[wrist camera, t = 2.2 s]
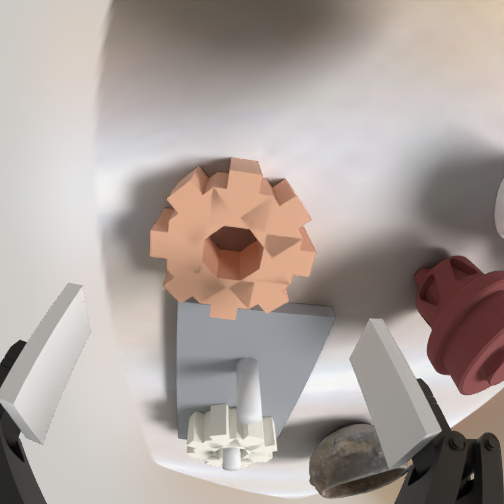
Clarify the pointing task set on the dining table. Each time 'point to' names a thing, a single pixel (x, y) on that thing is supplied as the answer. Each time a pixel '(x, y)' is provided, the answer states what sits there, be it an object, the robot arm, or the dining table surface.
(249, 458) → the gear
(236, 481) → the dining table surface
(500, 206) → the white joined open cylinders
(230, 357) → the gear board
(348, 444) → the bowl
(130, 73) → the dining table surface
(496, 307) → the mechanical component
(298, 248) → the gear
